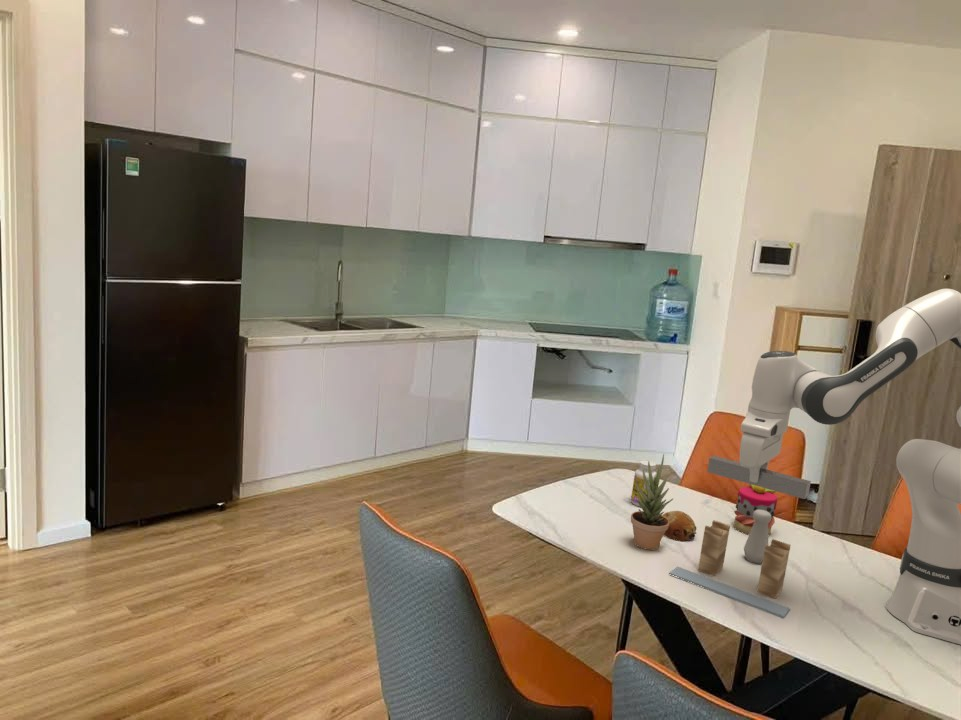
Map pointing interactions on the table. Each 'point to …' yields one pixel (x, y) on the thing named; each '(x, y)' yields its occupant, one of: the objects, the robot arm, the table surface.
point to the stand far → (713, 548)
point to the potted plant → (650, 512)
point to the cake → (753, 506)
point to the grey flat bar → (732, 592)
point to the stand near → (773, 568)
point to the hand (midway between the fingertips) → (756, 479)
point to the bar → (766, 479)
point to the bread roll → (680, 526)
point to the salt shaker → (757, 537)
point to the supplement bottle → (641, 480)
